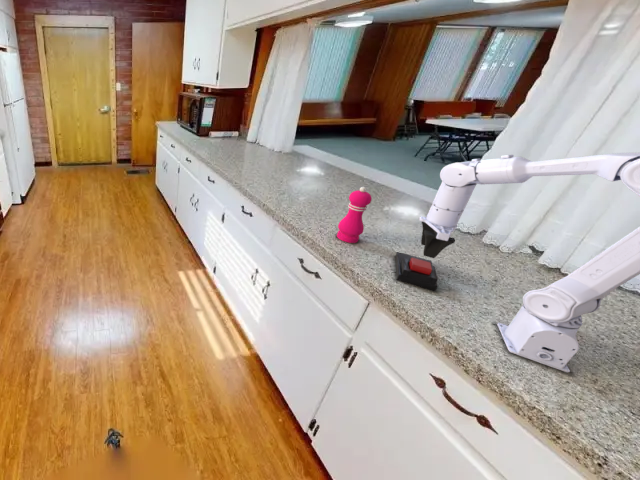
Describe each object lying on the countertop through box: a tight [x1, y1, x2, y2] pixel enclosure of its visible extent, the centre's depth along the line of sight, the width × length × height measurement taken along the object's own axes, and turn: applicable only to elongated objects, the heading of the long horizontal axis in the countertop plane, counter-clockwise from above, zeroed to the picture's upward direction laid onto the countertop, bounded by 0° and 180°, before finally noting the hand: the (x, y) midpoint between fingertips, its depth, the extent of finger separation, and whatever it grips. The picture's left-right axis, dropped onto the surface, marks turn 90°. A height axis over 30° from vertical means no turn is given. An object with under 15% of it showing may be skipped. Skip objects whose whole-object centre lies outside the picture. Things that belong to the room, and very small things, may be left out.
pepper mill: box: [336, 186, 373, 244], centre depth 101 cm, size 7×7×20 cm
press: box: [394, 251, 439, 292], centre depth 86 cm, size 14×8×4 cm, turn 142°
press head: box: [409, 258, 432, 275], centre depth 83 cm, size 4×4×2 cm
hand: (427, 250), depth 81 cm, fingers open, 6 cm apart
